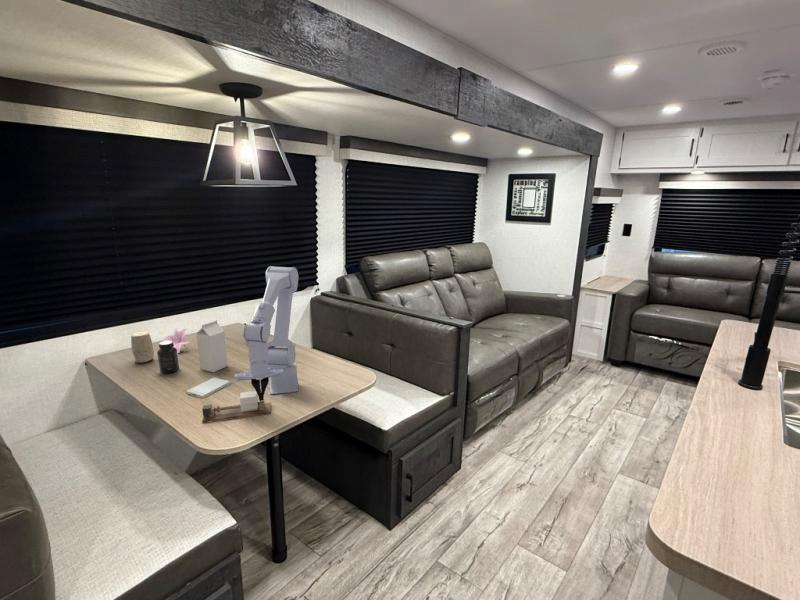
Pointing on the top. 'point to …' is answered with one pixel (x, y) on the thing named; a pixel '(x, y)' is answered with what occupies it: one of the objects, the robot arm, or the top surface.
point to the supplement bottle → (168, 358)
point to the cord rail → (232, 412)
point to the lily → (177, 338)
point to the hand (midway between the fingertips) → (261, 399)
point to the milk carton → (211, 347)
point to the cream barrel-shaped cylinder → (142, 347)
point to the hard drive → (208, 387)
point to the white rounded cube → (249, 401)
